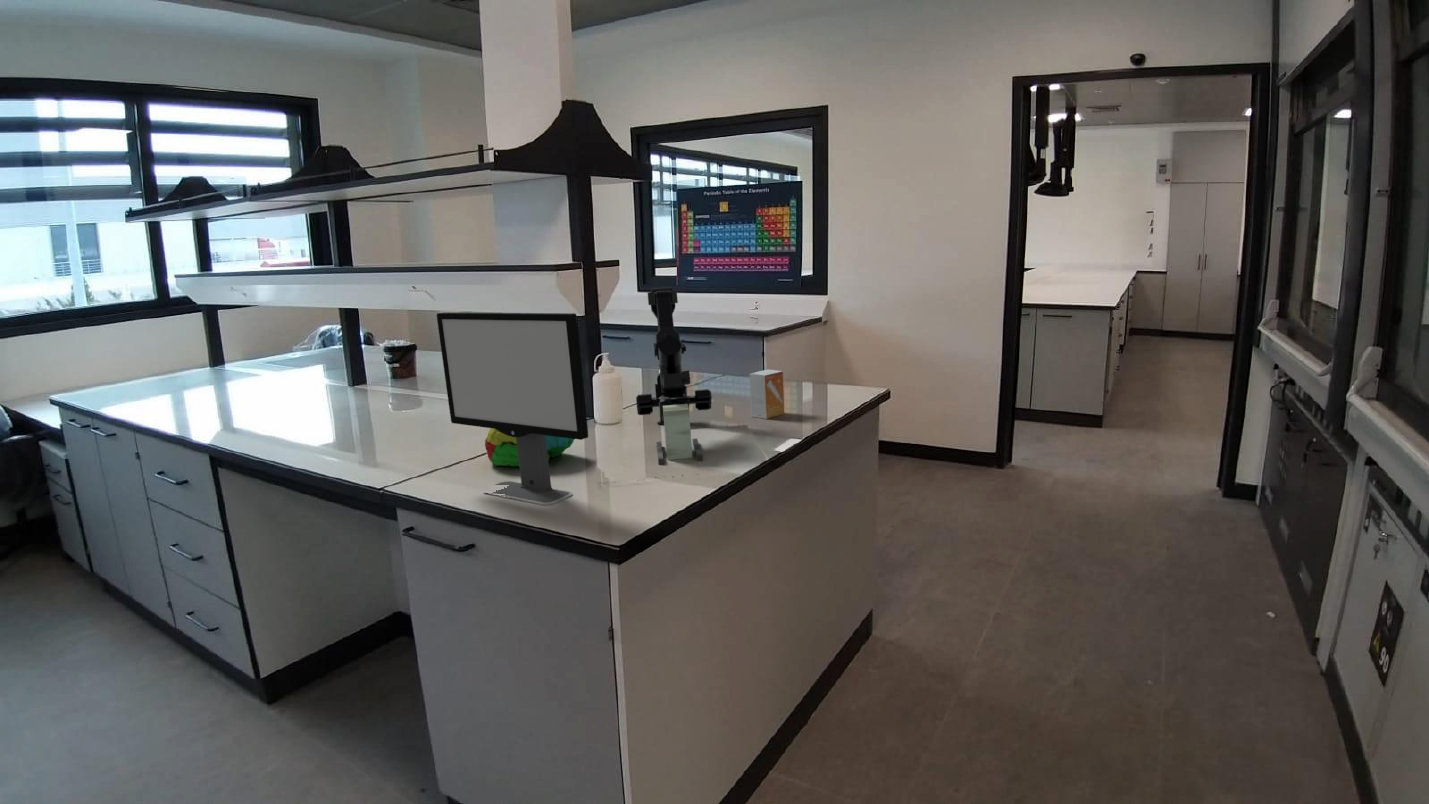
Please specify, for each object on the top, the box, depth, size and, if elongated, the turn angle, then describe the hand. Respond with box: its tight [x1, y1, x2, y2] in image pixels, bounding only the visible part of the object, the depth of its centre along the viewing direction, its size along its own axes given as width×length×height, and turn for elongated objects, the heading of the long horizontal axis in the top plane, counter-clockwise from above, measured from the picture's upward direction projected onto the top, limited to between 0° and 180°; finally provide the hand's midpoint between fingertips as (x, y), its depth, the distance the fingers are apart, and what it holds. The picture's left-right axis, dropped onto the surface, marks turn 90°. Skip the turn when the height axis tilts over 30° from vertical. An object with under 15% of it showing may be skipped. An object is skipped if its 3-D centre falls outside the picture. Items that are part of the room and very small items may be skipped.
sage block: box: [663, 404, 693, 461], centre depth 189 cm, size 6×6×12 cm
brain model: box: [484, 428, 575, 467], centre depth 197 cm, size 24×19×15 cm
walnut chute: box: [656, 437, 704, 466], centre depth 192 cm, size 16×12×3 cm
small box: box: [749, 369, 785, 420], centre depth 230 cm, size 8×6×13 cm
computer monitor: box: [436, 311, 589, 506], centre depth 169 cm, size 41×8×40 cm, turn 56°
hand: (676, 430), depth 192 cm, fingers closed
